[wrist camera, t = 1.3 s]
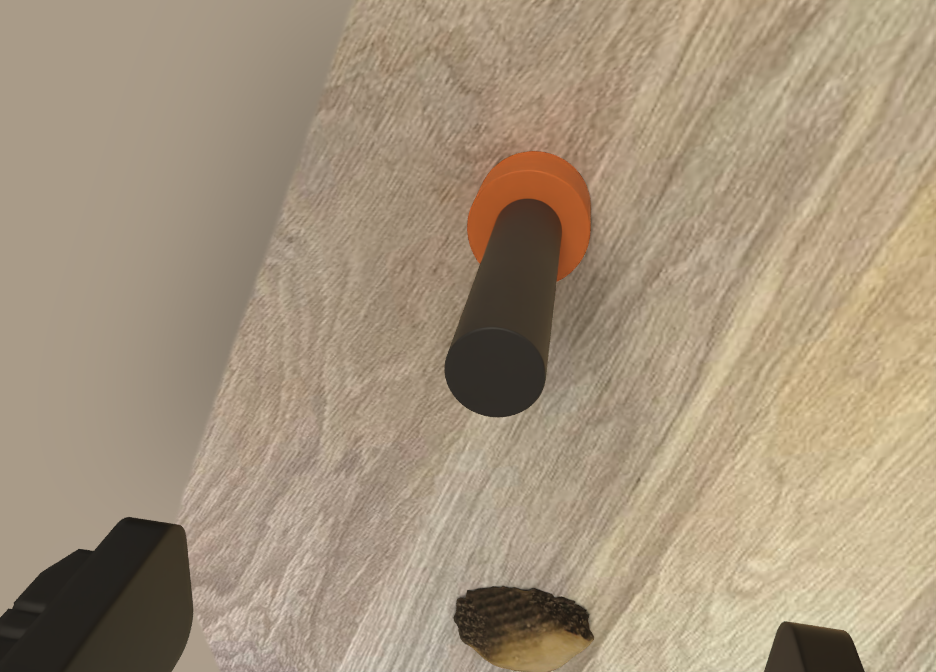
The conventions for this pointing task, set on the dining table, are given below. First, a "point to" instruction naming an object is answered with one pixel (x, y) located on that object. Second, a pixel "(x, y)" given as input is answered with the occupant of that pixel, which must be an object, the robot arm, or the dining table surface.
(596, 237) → the dining table surface
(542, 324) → the sponge stick
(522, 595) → the nut kernel
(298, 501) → the dining table surface
